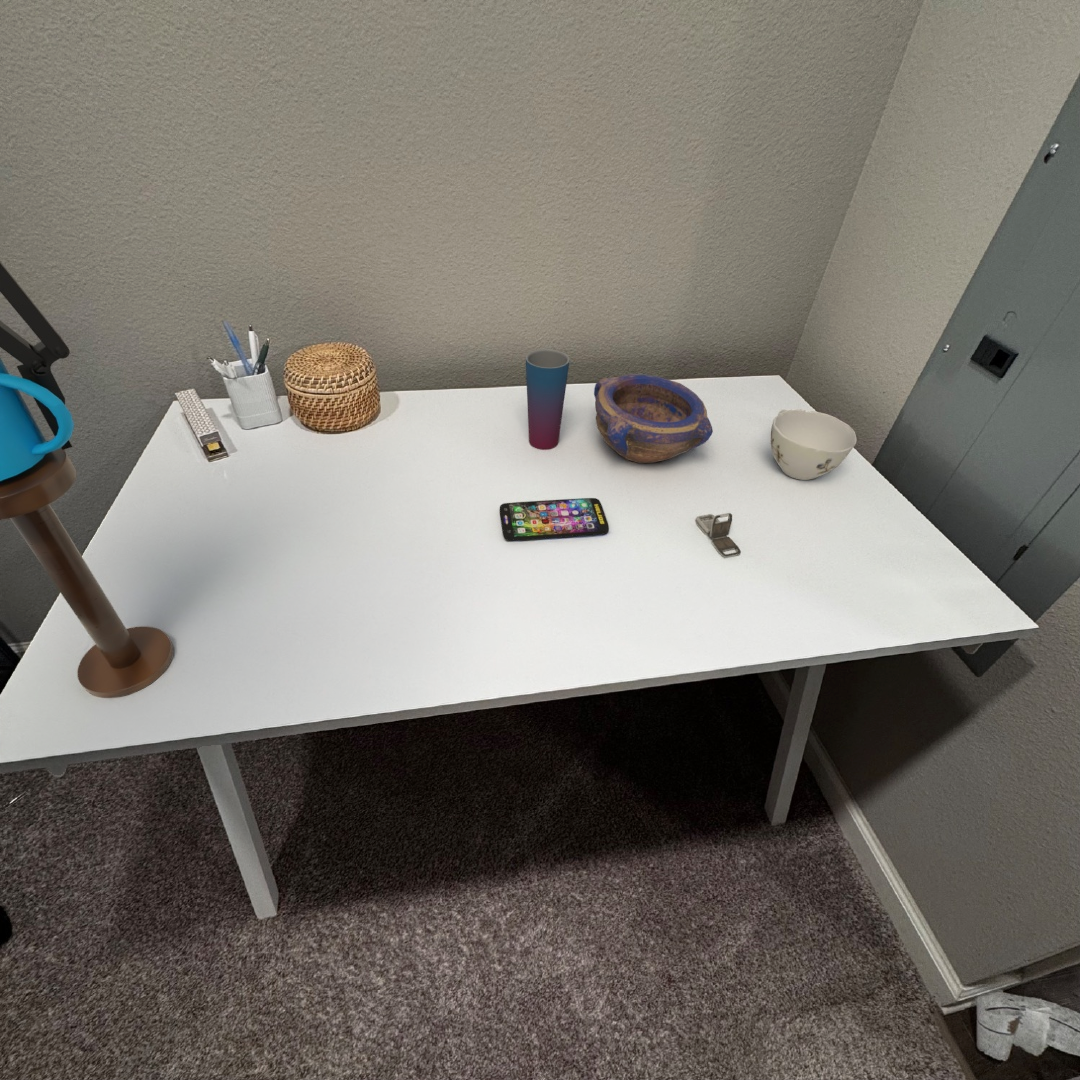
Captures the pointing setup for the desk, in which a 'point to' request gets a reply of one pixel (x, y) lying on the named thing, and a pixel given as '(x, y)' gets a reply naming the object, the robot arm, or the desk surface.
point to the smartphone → (553, 519)
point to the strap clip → (718, 532)
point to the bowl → (649, 417)
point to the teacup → (810, 442)
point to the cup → (545, 395)
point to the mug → (26, 425)
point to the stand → (82, 584)
